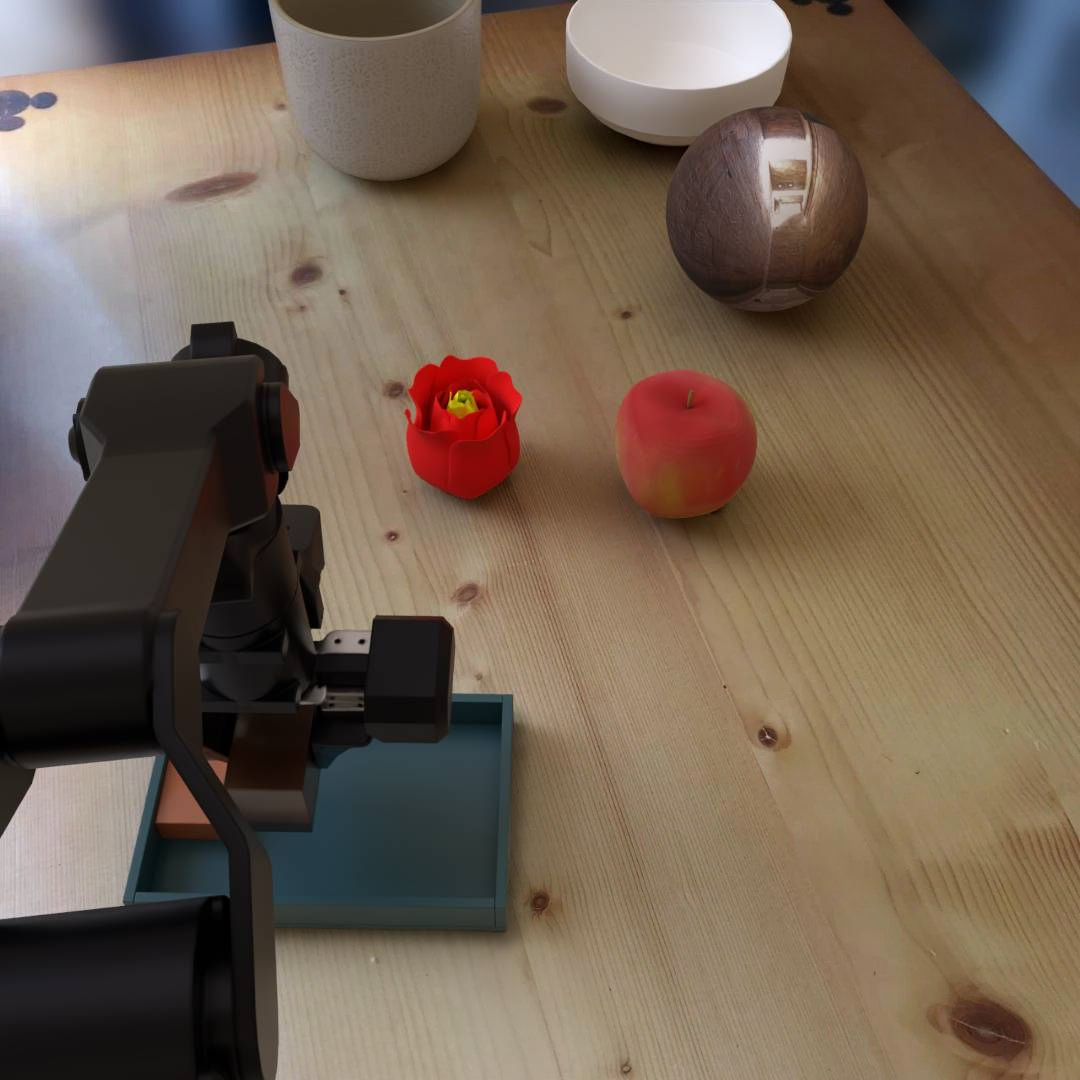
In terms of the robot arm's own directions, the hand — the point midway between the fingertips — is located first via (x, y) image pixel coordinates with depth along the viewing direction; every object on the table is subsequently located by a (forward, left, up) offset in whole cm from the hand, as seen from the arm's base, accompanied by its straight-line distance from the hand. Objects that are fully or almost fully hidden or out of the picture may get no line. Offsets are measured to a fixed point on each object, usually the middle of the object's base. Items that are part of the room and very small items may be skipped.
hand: (285, 760), depth 70 cm
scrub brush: (0, 0, -1) cm, 1 cm away
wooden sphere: (+53, +16, -7) cm, 56 cm away
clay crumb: (-4, +4, -6) cm, 8 cm away
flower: (+23, +15, -7) cm, 28 cm away
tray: (+1, -1, -6) cm, 7 cm away
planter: (+42, +50, -7) cm, 66 cm away
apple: (+33, +4, -7) cm, 34 cm away
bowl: (+65, +38, -7) cm, 76 cm away
